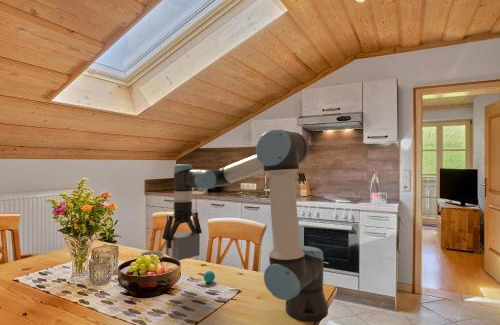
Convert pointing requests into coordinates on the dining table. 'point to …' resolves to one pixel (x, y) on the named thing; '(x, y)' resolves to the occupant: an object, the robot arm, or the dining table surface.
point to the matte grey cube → (185, 245)
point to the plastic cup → (154, 254)
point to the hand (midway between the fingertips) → (182, 253)
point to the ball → (209, 276)
